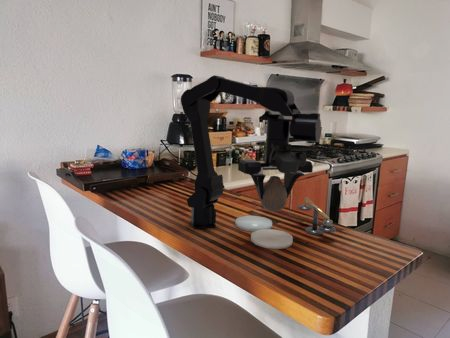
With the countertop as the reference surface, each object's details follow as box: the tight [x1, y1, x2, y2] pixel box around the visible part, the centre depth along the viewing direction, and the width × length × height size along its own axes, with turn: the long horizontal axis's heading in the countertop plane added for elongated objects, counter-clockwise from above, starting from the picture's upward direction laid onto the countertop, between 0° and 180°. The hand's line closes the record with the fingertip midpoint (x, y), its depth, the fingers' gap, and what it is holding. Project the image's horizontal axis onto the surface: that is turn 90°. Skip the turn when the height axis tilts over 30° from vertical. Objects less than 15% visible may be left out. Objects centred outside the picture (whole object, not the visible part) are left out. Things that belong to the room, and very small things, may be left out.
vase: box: [259, 175, 288, 212], centre depth 88 cm, size 7×7×9 cm
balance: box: [297, 196, 337, 236], centre depth 97 cm, size 16×5×9 cm, turn 18°
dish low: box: [250, 228, 294, 250], centre depth 90 cm, size 11×11×1 cm
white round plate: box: [235, 215, 273, 233], centre depth 102 cm, size 11×11×1 cm
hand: (273, 198), depth 88 cm, fingers closed on vase, 7 cm apart
